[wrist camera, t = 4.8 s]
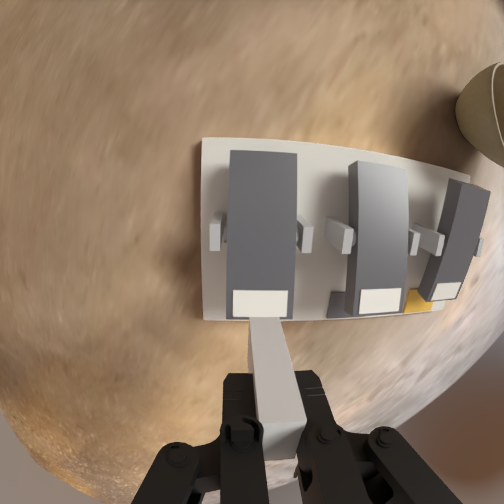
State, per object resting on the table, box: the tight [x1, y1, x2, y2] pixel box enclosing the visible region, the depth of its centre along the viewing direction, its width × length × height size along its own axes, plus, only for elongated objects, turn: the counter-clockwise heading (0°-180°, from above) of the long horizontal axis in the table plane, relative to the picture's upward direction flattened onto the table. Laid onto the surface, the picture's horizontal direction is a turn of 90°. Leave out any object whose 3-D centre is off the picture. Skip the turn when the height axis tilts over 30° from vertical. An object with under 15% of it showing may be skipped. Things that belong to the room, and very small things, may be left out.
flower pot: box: [455, 62, 504, 167], centre depth 15 cm, size 10×10×7 cm
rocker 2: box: [344, 160, 409, 317], centre depth 17 cm, size 10×4×2 cm, turn 178°
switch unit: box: [201, 138, 484, 321], centre depth 19 cm, size 14×24×5 cm, turn 88°
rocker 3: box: [417, 178, 490, 302], centre depth 18 cm, size 10×4×2 cm, turn 178°
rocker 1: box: [224, 150, 299, 320], centre depth 17 cm, size 10×4×2 cm, turn 178°
